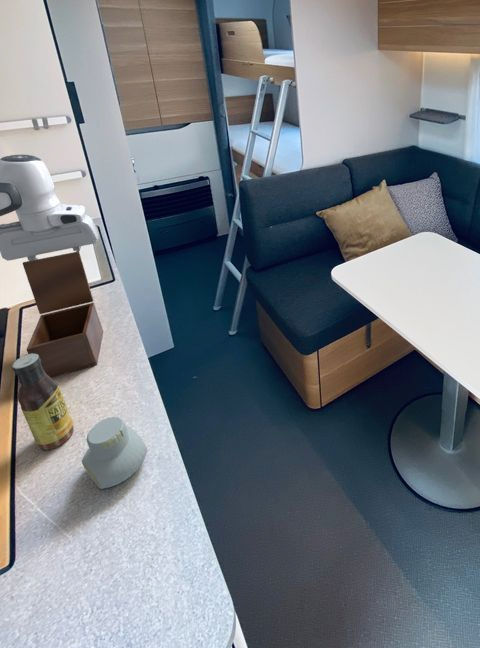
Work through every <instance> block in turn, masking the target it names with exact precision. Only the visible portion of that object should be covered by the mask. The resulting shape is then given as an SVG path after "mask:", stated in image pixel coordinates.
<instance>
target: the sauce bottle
mask: <svg viewBox="0 0 480 648" xmlns="http://www.w3.org/2000/svg"><path fill="white" fill-rule="evenodd" d="M11 368H12V371H13V373H14V374H15V375H16V376H17V379H18V382H19V384H20V386H19V387H18V391H17V400H18V403H19V405H20V409H21V412H22V414H23V416H24V418H25V421H26V424H27V426H28V428H29V430H30V433H31V435H32V437H33V439H34V441H35V443H36V444H37V445H38V447H39V449H40V450H45V451H46V450H52V449H55V448H57V447H60V446H61V445H63V444H64V443H65V442H66V441H67V440H69V439H70V438H71V436H72V435H73V433H74V421H73V419H72V415H71V413H70V411H69V408H68V405H67V403H66V400H65V397H64V395H63V392H62V390H61V387H60V385H59V383H58V382H57V381H55V380H54V379H53V378H51V377H49V376H48V375H47V374H46V373H45V371H44V370H43V368H42V365H41V359H40V357H39V355H38V354H28V353H27V354H25V355H23V356H21V357H19V358H17V359H16V360H15V361H13V363H12V364H11Z"/></svg>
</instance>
